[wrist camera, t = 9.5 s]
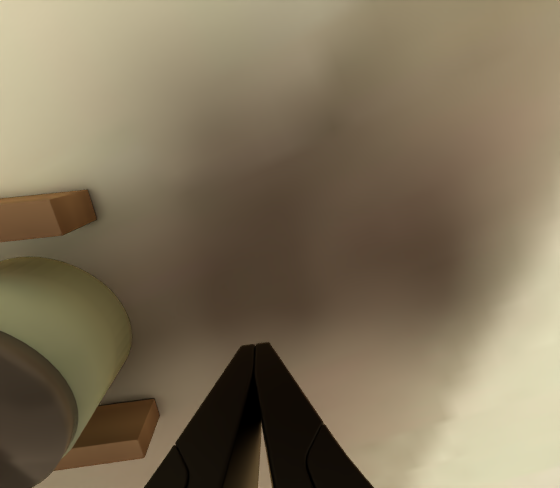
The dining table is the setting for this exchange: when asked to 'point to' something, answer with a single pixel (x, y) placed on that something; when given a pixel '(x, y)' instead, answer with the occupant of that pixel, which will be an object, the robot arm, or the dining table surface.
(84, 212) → the lane
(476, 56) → the dining table surface
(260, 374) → the robot arm
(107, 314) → the green jar
